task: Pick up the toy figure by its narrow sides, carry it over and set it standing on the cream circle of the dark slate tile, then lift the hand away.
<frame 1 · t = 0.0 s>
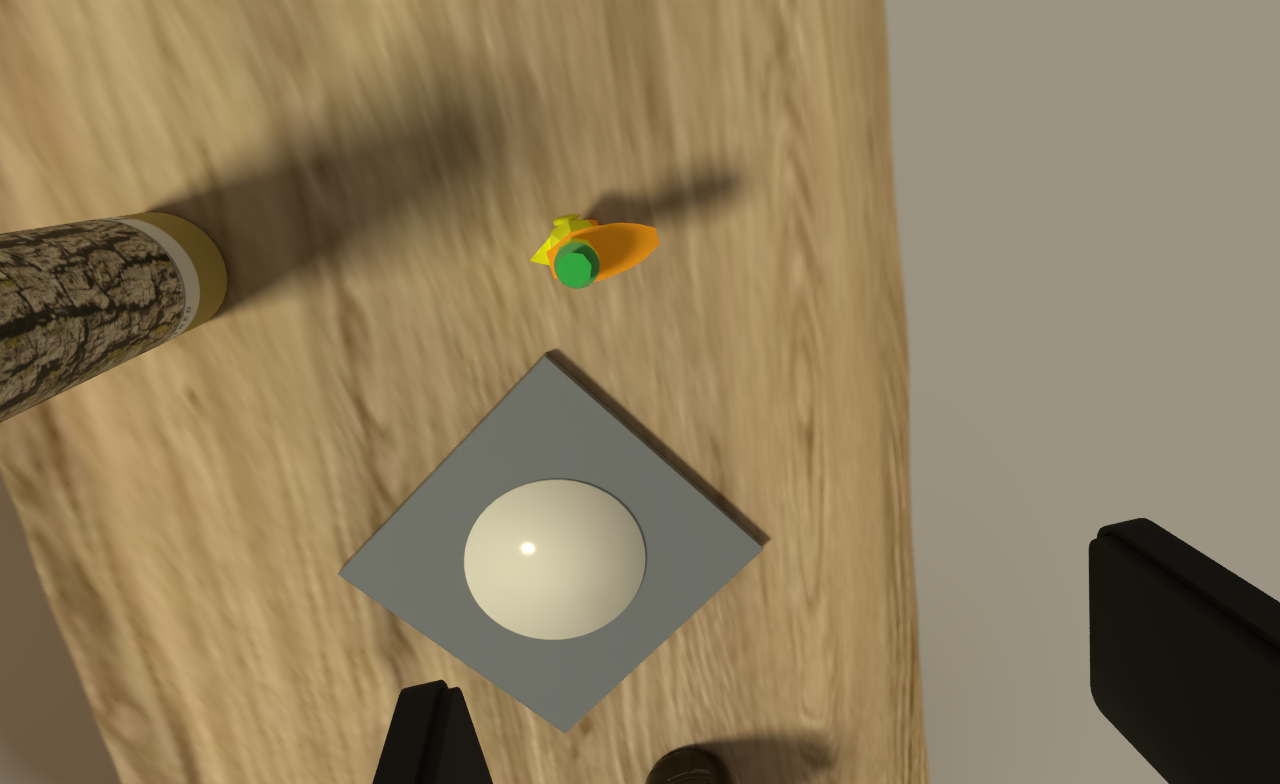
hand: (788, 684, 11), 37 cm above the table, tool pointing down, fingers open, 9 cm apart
paper tube: (172, 270, 44), on the table
supplement bottle: (687, 779, 59), on the table
slate tile: (556, 553, 52), on the table
toy figure: (586, 236, 46), on the table
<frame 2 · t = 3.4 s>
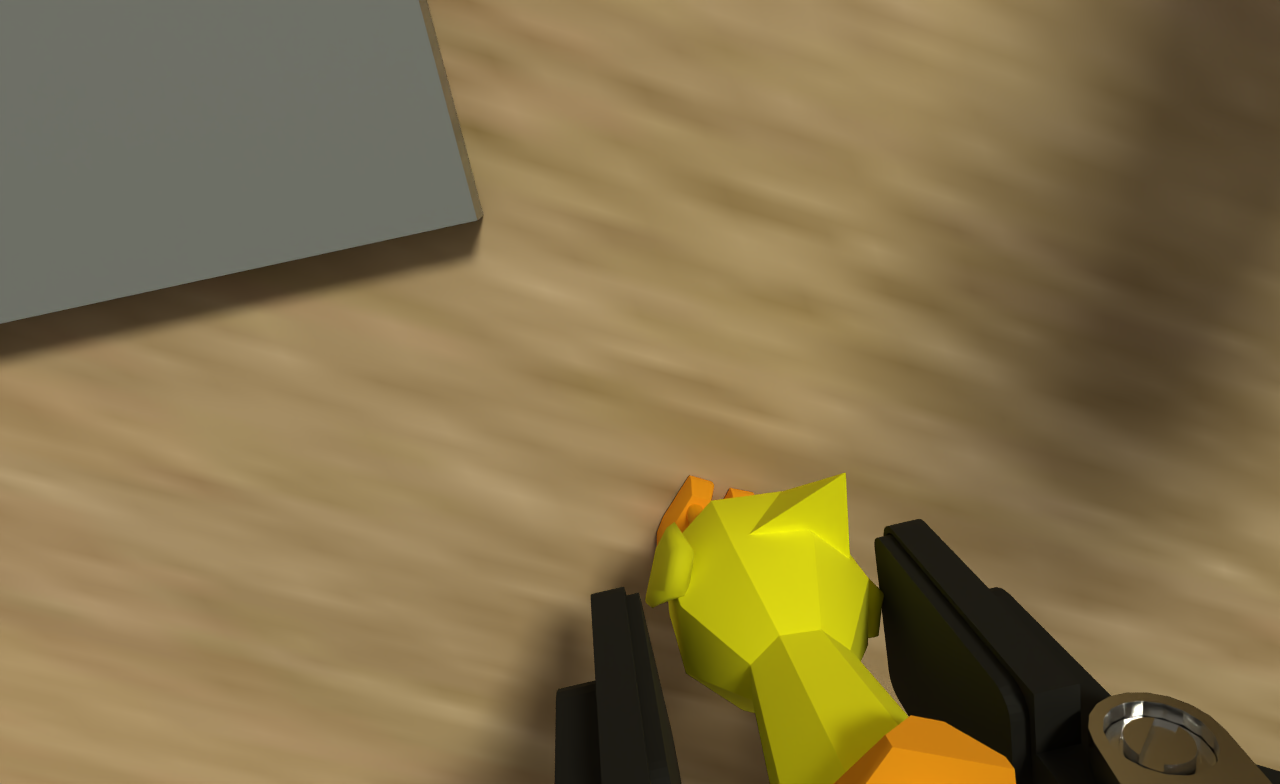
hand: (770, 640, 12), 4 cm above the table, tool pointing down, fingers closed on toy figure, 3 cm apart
toy figure: (699, 530, 16), on the table, touching gripper
when the fingers open (7 cm above the table, at t = 9.9 s): toy figure drops 2 cm, resting on slate tile.
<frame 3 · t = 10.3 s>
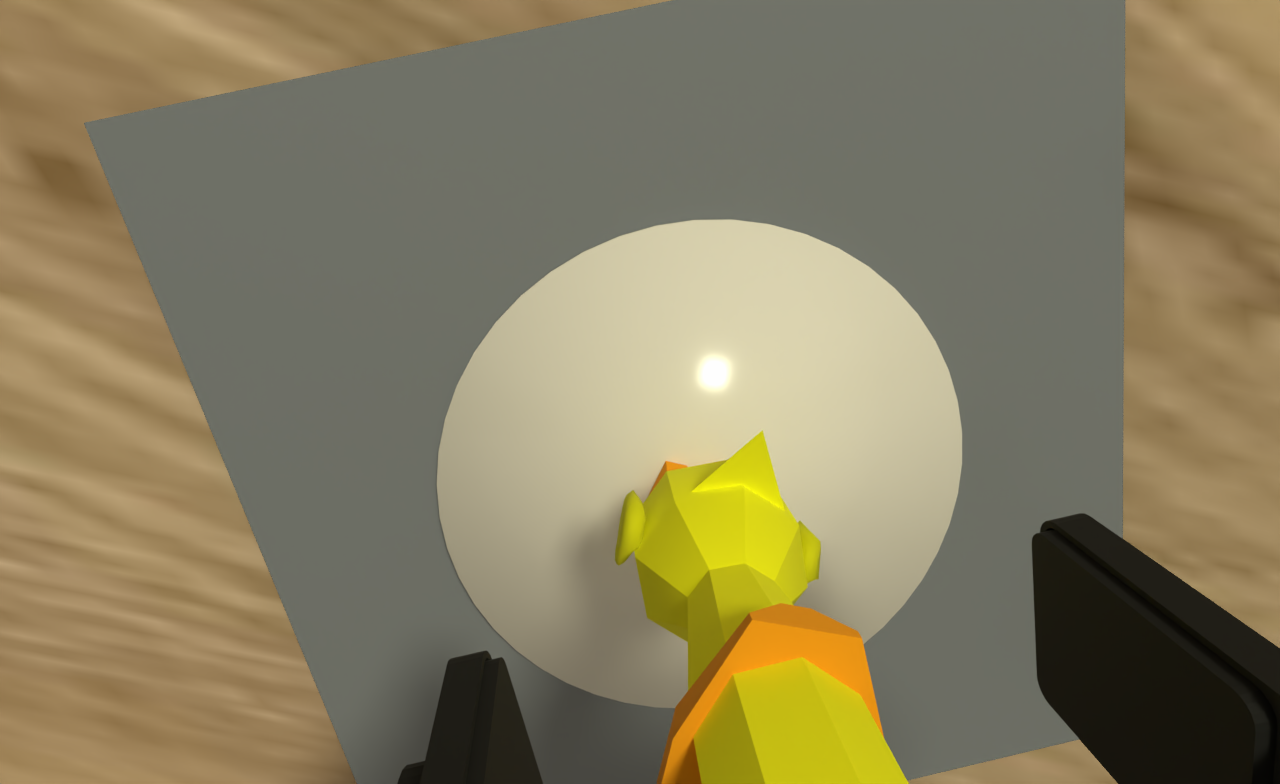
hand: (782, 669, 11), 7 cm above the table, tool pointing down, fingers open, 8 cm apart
slate tile: (698, 468, 18), on the table
toy figure: (681, 511, 17), point 1 cm above the table, touching slate tile
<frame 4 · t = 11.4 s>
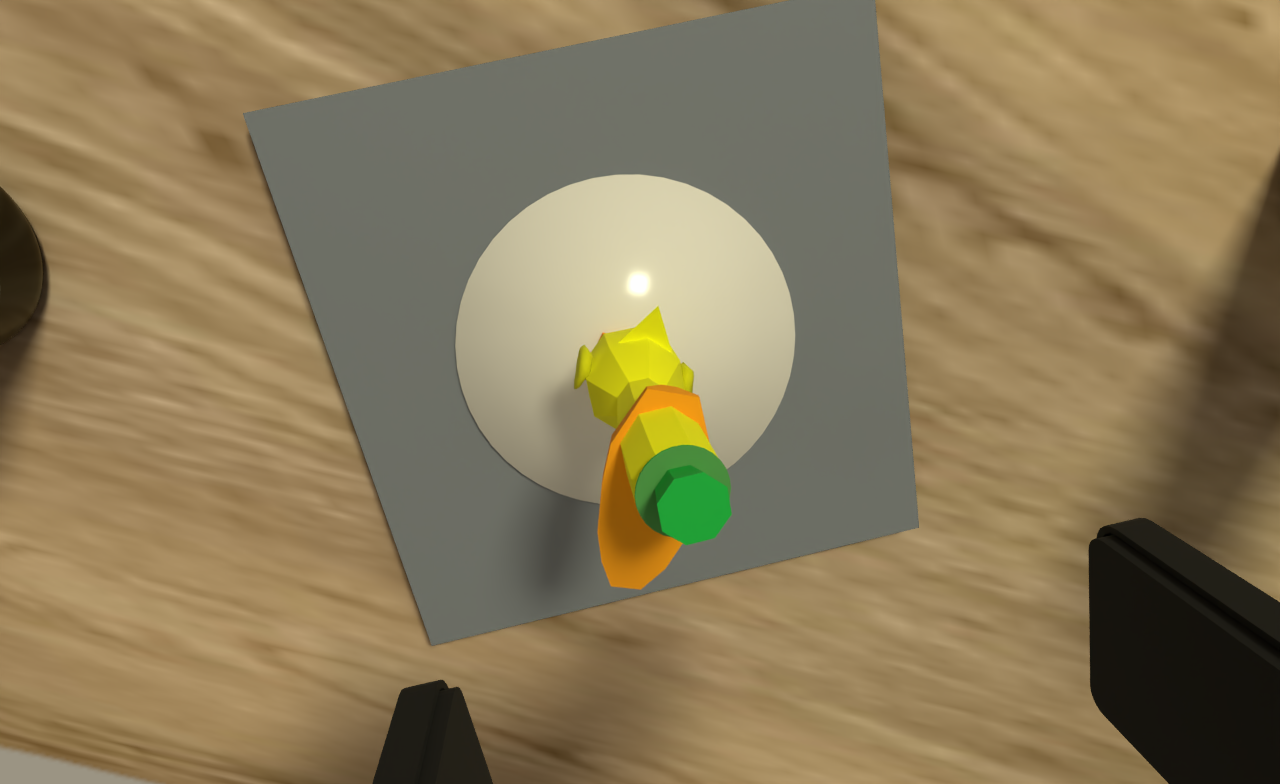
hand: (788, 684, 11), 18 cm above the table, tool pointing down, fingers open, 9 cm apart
slate tile: (626, 342, 28), on the table
toy figure: (613, 365, 27), point 1 cm above the table, touching slate tile
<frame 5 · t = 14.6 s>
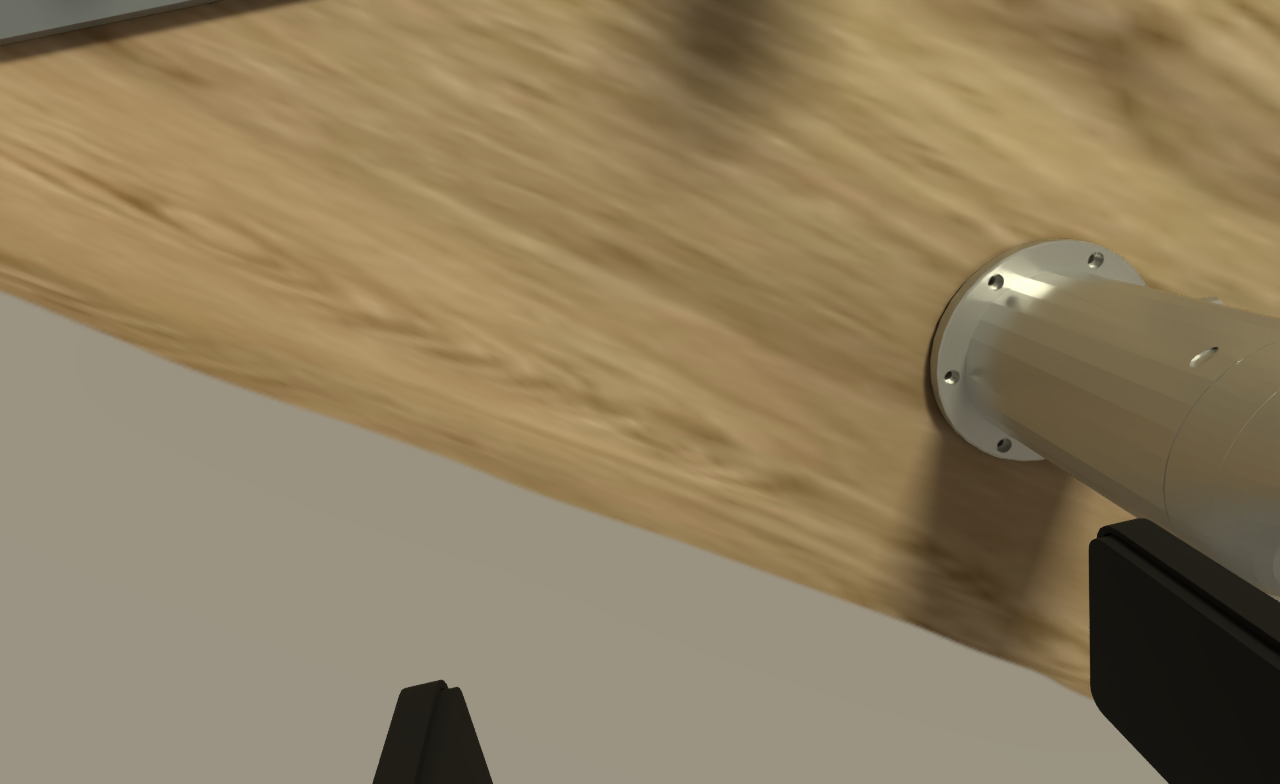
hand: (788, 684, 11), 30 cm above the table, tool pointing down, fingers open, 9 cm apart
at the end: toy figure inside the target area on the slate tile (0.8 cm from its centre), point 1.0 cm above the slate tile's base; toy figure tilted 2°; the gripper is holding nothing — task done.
